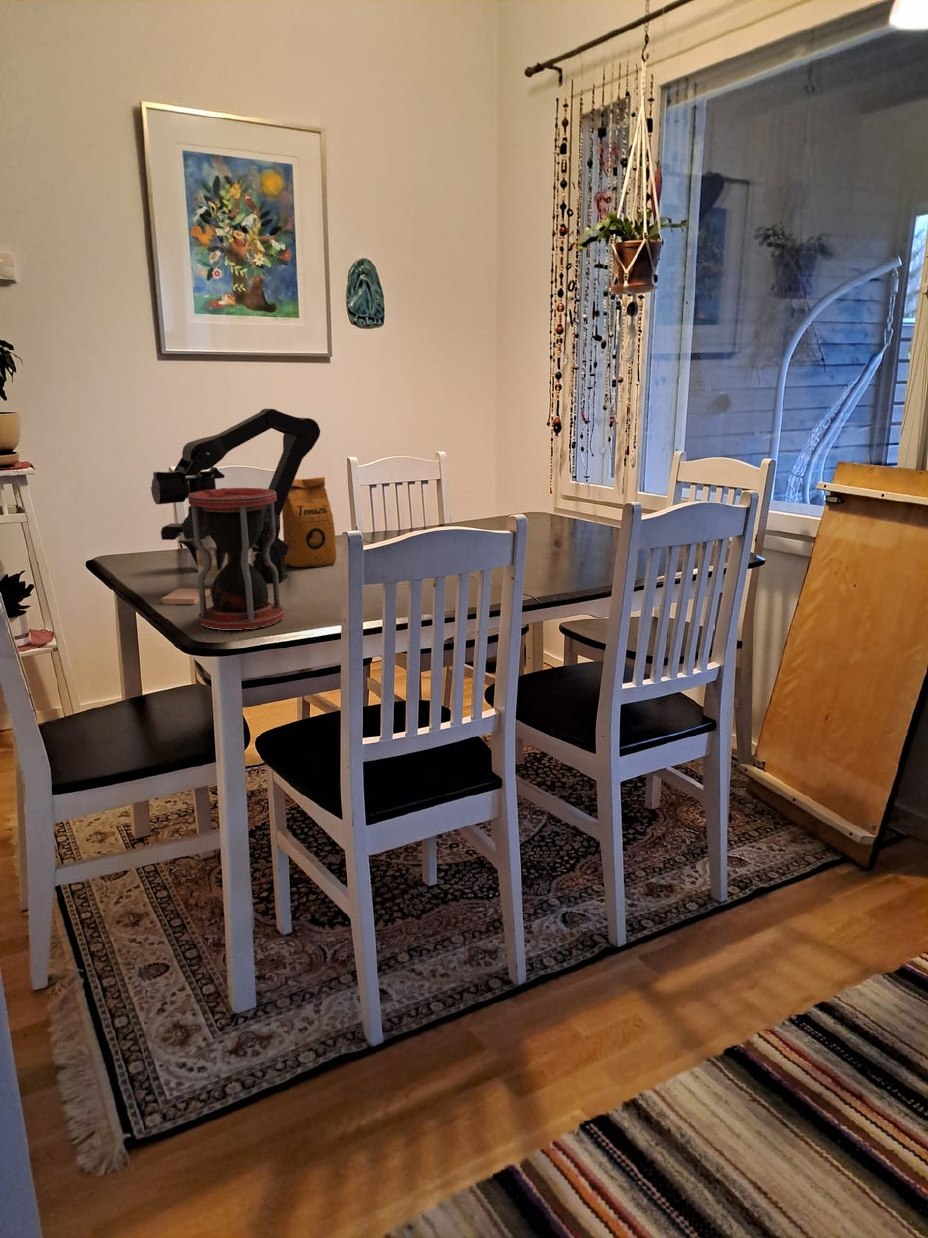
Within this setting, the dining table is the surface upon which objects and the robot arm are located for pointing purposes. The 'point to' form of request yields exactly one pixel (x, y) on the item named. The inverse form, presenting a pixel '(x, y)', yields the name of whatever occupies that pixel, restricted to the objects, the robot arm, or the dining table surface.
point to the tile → (183, 596)
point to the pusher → (214, 568)
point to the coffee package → (308, 524)
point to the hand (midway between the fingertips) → (210, 569)
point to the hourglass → (236, 557)
